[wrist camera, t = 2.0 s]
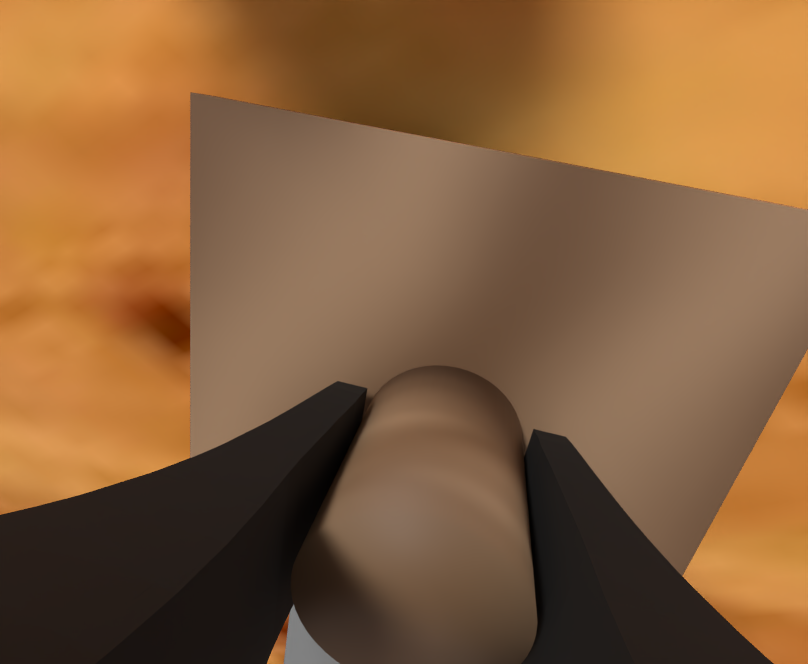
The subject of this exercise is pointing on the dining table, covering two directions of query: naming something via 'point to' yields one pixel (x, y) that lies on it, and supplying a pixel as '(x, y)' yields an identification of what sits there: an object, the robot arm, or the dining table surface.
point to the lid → (476, 355)
